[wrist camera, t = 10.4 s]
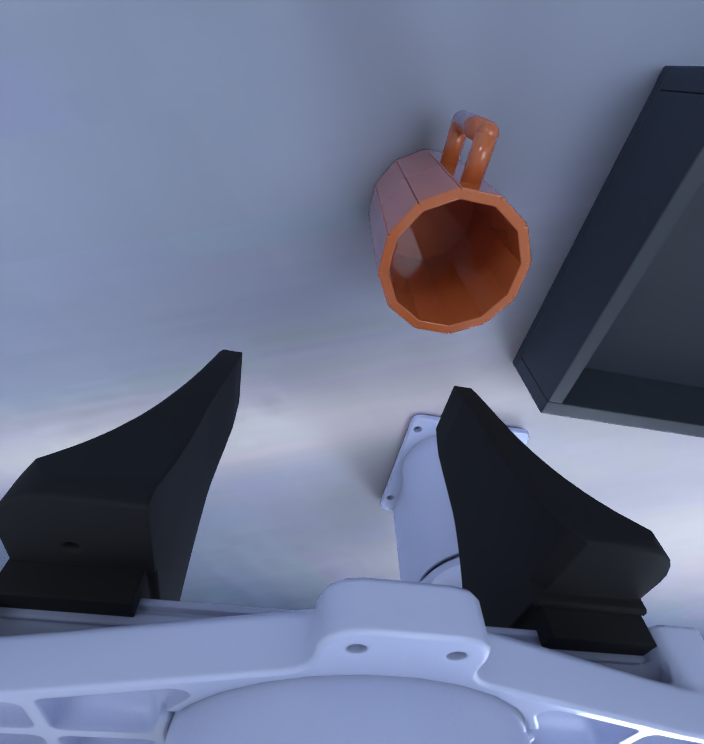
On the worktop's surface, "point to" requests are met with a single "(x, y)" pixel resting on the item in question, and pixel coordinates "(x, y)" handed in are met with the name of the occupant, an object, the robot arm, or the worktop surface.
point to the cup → (448, 234)
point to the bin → (634, 282)
